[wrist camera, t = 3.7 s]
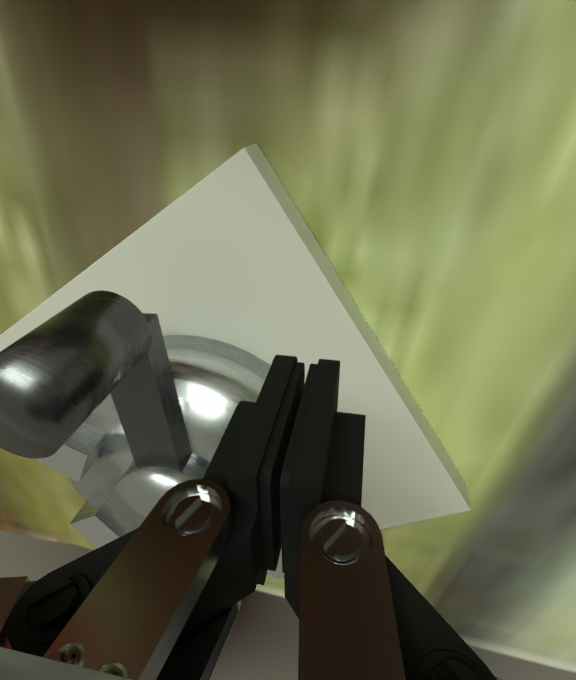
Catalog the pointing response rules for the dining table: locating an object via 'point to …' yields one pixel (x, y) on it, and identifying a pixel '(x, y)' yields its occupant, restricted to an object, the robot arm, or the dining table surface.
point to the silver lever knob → (120, 407)
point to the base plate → (274, 319)
